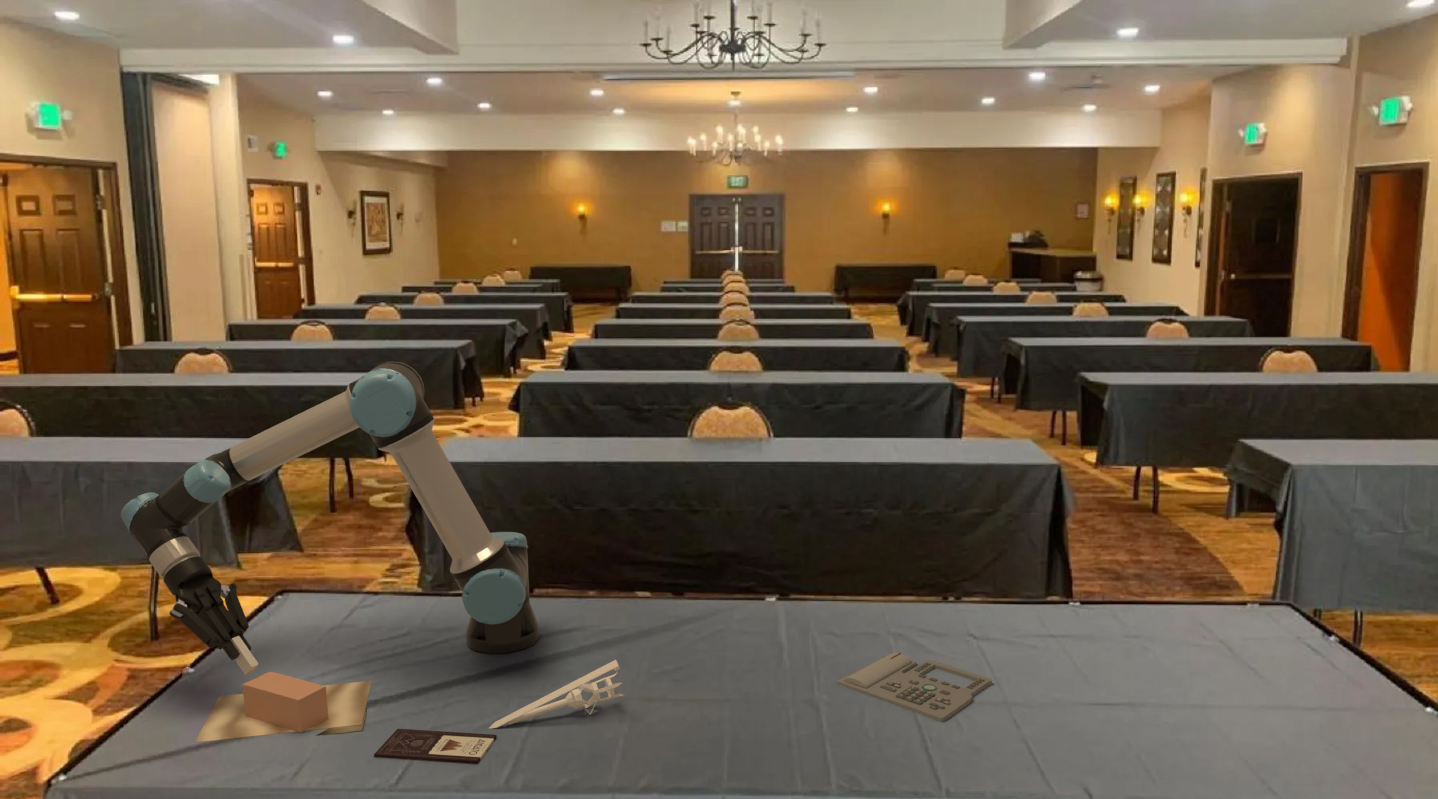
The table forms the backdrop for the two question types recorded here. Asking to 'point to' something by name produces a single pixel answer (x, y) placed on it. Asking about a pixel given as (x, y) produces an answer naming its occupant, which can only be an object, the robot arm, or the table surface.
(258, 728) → the birch board
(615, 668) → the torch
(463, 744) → the chocolate bar
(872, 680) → the office telephone
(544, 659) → the table surface
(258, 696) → the terracotta block
